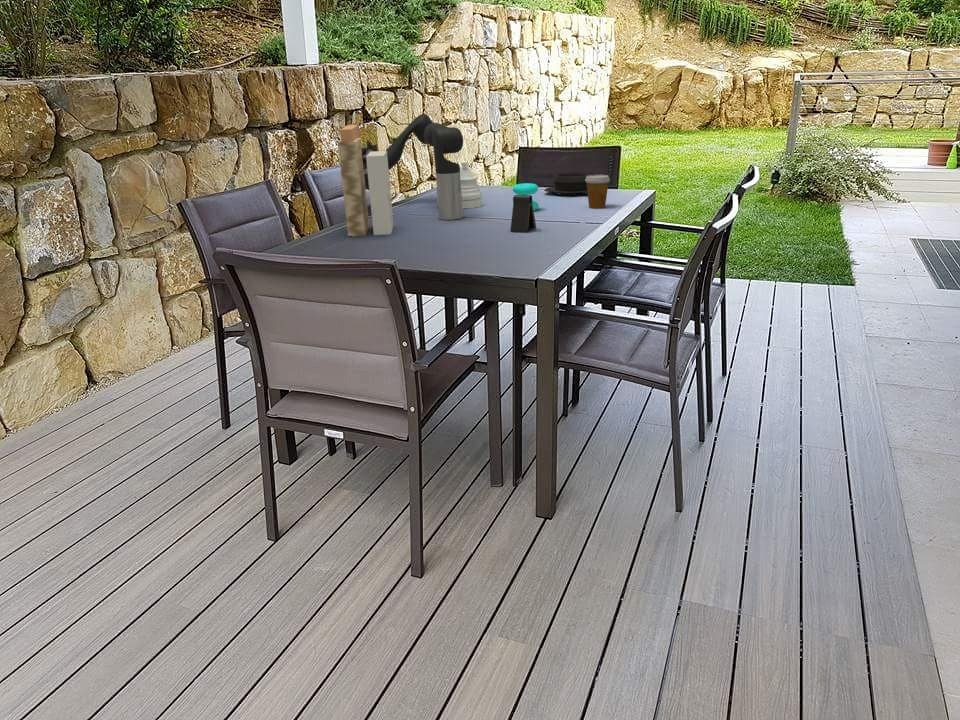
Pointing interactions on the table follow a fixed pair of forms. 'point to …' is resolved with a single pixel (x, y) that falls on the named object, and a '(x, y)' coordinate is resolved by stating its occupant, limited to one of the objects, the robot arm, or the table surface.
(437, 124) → the robot arm
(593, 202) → the disposable coffee cup
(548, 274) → the table surface
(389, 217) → the grey post
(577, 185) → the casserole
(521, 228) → the door stopper
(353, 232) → the oak post
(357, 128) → the terracotta bar
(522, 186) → the donuts
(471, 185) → the honey pot
